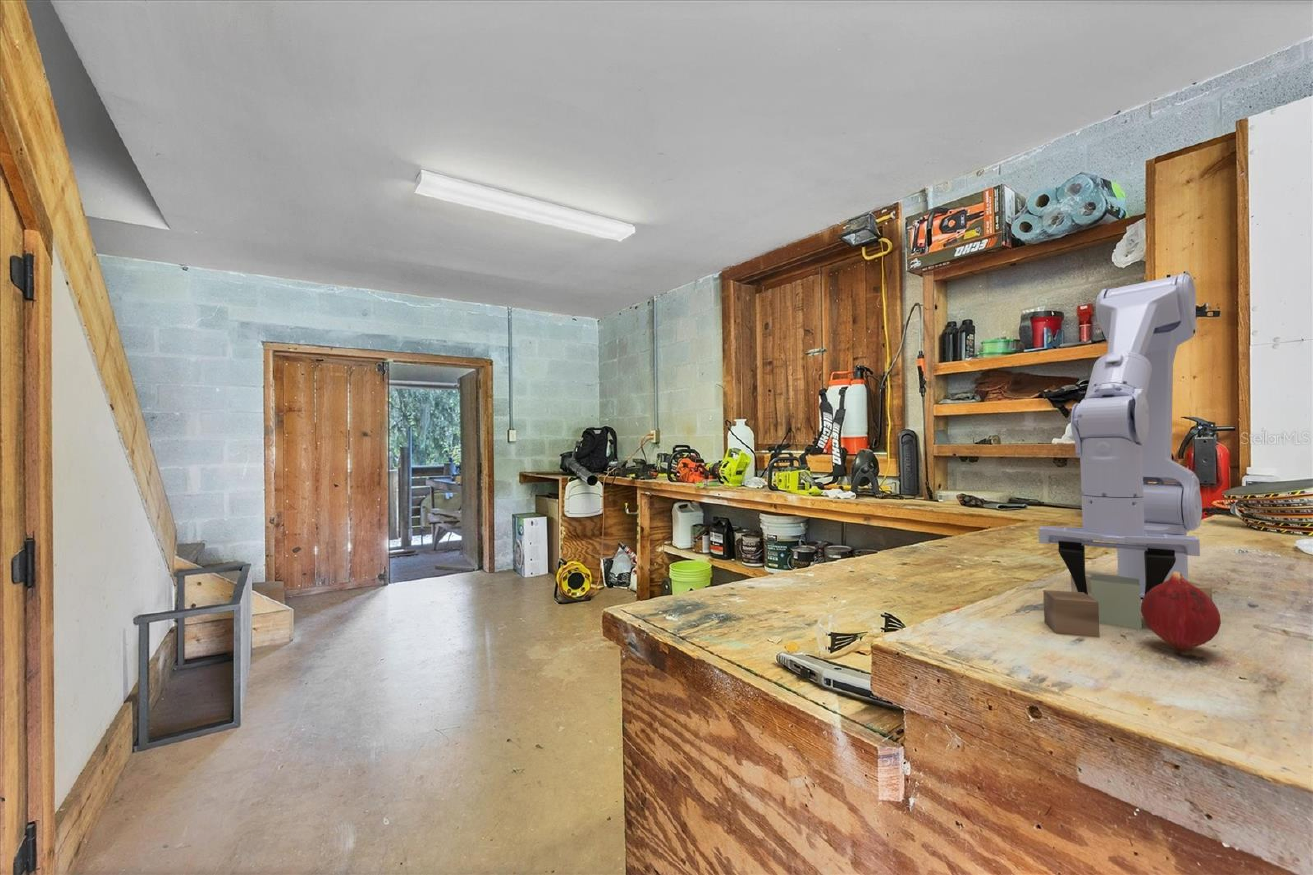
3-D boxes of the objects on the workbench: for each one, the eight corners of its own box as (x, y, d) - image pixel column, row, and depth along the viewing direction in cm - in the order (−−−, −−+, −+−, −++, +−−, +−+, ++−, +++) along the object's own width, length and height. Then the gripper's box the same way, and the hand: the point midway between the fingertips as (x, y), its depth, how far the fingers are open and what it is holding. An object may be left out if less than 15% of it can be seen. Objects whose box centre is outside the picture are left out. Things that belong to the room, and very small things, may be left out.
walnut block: (1044, 623, 64) (1043, 589, 64) (1084, 626, 62) (1083, 592, 62) (1056, 634, 60) (1055, 599, 60) (1099, 638, 59) (1098, 602, 59)
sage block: (1092, 612, 67) (1091, 573, 67) (1139, 619, 64) (1138, 578, 64) (1092, 622, 64) (1090, 580, 64) (1141, 629, 61) (1140, 586, 61)
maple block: (1082, 598, 73) (1081, 569, 73) (1119, 605, 70) (1118, 574, 70) (1071, 603, 71) (1070, 573, 71) (1109, 610, 68) (1108, 579, 68)
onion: (1239, 663, 51) (1235, 580, 51) (1169, 660, 52) (1166, 578, 52) (1191, 641, 57) (1188, 566, 57) (1129, 638, 58) (1126, 565, 58)
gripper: (1034, 495, 66) (1038, 605, 66) (1201, 501, 56) (1206, 630, 56) (1040, 491, 71) (1043, 592, 71) (1193, 496, 62) (1198, 613, 62)
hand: (1115, 608), depth 64 cm, fingers open, 5 cm apart
